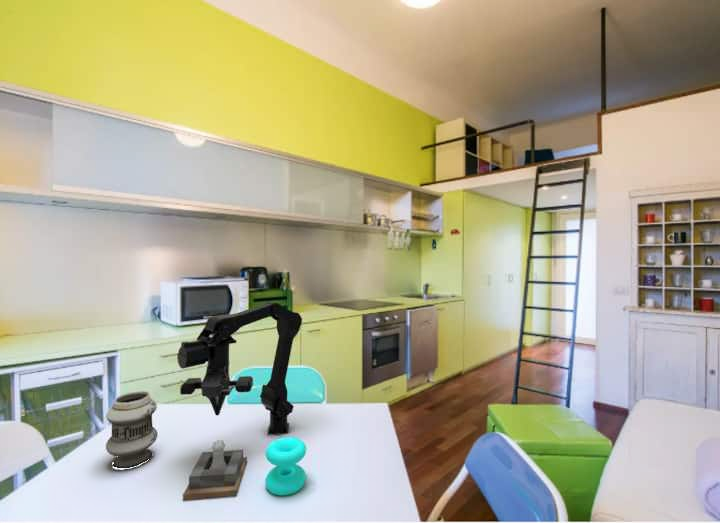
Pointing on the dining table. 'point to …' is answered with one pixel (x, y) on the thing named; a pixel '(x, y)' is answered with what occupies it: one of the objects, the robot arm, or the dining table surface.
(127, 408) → the apothecary jar
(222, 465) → the rook chess piece
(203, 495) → the socket board
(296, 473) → the donuts
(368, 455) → the dining table surface
